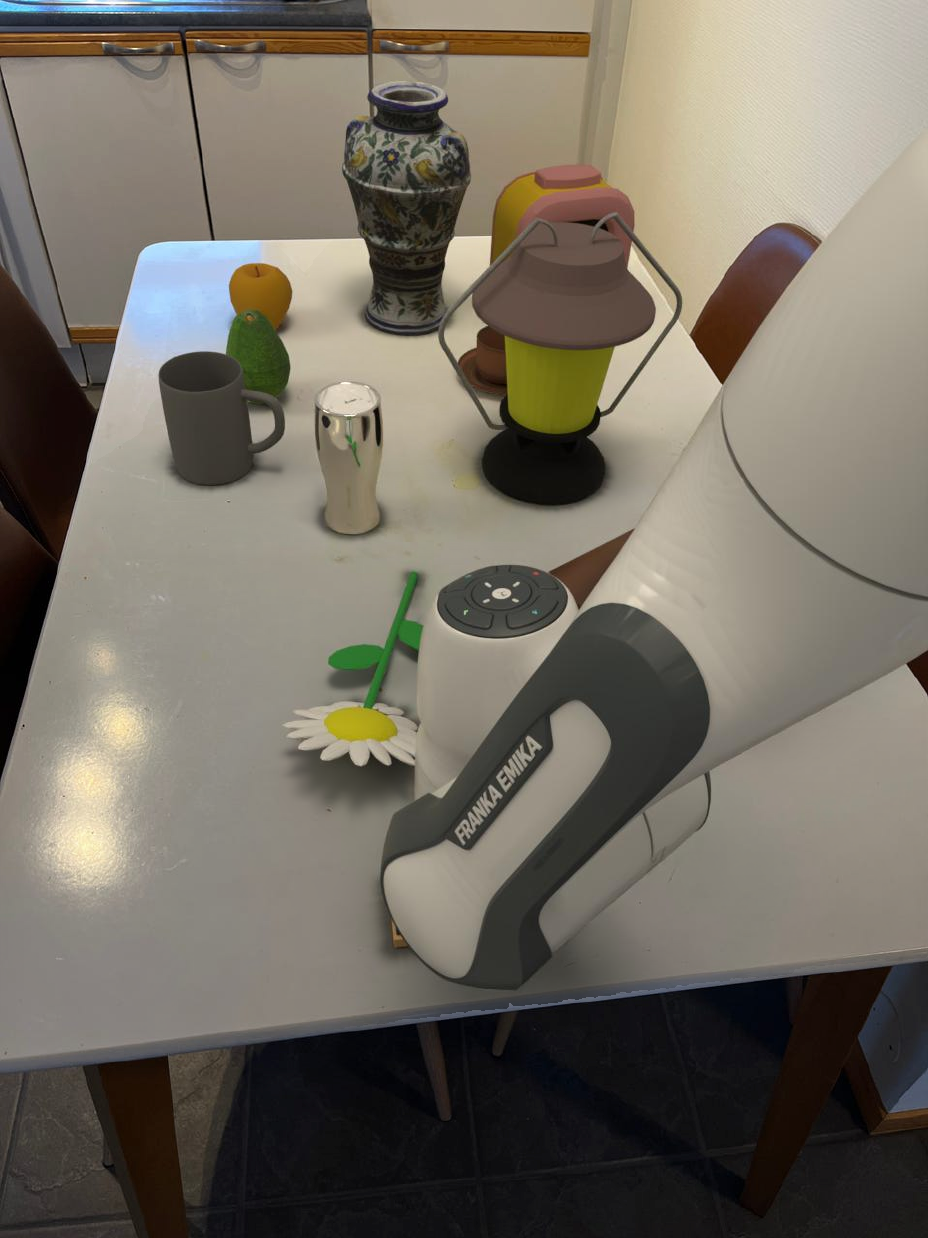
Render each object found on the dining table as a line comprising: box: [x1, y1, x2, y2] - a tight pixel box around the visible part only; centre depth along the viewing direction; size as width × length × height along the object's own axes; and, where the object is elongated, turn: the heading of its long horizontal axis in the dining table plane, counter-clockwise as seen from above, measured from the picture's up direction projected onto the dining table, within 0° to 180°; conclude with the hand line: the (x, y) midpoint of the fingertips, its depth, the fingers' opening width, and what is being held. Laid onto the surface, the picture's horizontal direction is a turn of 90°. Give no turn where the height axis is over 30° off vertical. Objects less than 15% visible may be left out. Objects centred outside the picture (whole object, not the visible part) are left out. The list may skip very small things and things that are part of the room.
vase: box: [341, 80, 472, 337], centre depth 132 cm, size 17×17×30 cm
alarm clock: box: [489, 164, 635, 269], centre depth 140 cm, size 18×11×19 cm, turn 112°
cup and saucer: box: [457, 325, 508, 395], centre depth 128 cm, size 12×12×6 cm
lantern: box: [437, 212, 683, 506], centre depth 105 cm, size 25×19×30 cm
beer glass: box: [314, 381, 384, 536], centre depth 101 cm, size 7×7×15 cm
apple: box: [228, 262, 293, 330], centre depth 134 cm, size 8×8×9 cm
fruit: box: [225, 310, 292, 405], centre depth 119 cm, size 8×8×12 cm
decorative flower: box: [282, 571, 424, 767], centre depth 88 cm, size 13×5×30 cm
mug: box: [157, 350, 286, 486], centre depth 108 cm, size 14×9×12 cm
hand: (472, 892), depth 71 cm, fingers closed on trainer, 4 cm apart
